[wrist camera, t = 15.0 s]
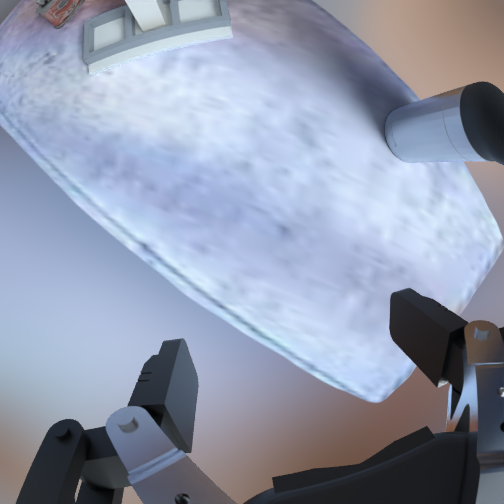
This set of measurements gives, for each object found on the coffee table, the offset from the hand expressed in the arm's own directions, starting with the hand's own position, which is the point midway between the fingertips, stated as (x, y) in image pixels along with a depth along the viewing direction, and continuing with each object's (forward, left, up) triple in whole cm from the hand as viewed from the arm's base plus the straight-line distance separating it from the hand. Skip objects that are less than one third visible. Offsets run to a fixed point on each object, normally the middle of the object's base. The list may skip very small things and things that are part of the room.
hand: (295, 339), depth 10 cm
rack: (+8, -34, -30) cm, 46 cm away
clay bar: (+8, -34, -29) cm, 45 cm away
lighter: (+24, -46, -30) cm, 60 cm away
